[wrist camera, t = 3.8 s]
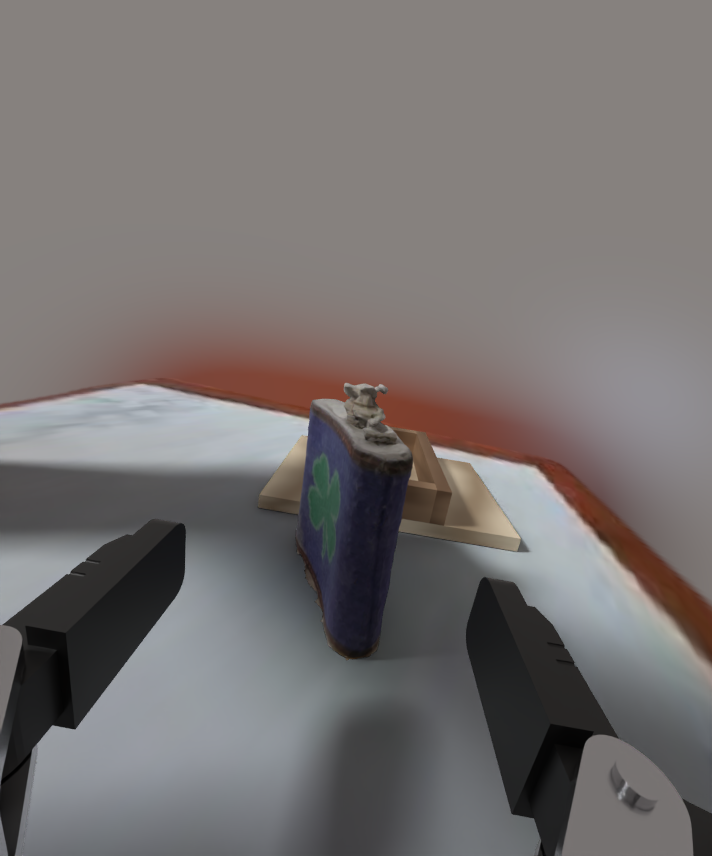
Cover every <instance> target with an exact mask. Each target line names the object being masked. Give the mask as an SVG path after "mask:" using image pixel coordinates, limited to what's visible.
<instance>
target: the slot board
mask: <svg viewBox="0 0 712 856" xmlns="http://www.w3.org/2000/svg"><path fill="white" fill-rule="evenodd" d="M390 428H391V429H392V430H393V431H394V432H395V433H396V434H397V436H398V437H399V438H400V439H401V441H402V442H403V443H404V444H405V445H406V446H407V447H408V448H409V449H410V451H411V452H412V455H413V468H412V471H411V476H410V478H409V481H408V486H407V490H406V496H405V502H404V506H403V513H402V520H401V524H400V527H399V532H405V533H411V534H417V535H422V536H428V537H434V538H440V539H446V540H452V541H458V542H464V543H470V544H475V545H481V546H487V547H493V548H499V549H505V550H511V551H517V550H518V547H519V544H520V541H521V538H520V537H519V535H518V534H517V532H516V531H515V529H514V528H513V526H512V525H511V523H510V522H509V520H508V519H507V517H506V516H505V514H504V513H503V511H502V510H501V508H500V507H499V505H498V504H497V503H496V501H495V500H494V498H493V497H492V495H491V494H490V492H489V491H488V489H487V488H486V486H485V485H484V483H483V482H482V480H481V479H480V477H479V476H478V474H477V473H476V472H475V470H474V469H473V467H472V466H471V464H470V463H466V462H460V461H454V460H448V459H442V458H437V457H436V455H435V453H434V451H433V448H432V446H431V444H430V442H429V440H428V437H427V435H426V433H425V432H419V431H413V430H407V429H401V428H394V427H390ZM307 438H308V436H303V435H302V436H301V437H300V439H299V440H298V441H297V443H296V444H295V445H294V447H293V448H292V450H291V451H290V452H289V454H288V455H287V457H286V458H285V459H284V461H283V462H282V464H281V465H280V466H279V468H278V469H277V470H276V472H275V473H274V475H273V476H272V477H271V479H270V480H269V482H268V483H267V484H266V486H265V487H264V489H263V490H262V491H261V493H260V494H259V502H258V508H263V509H269V510H275V511H281V512H287V513H293V514H299V508H300V499H301V492H302V484H303V475H304V468H305V459H306V447H307Z"/></svg>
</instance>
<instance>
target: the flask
mask: <svg viewBox="0 0 712 856" xmlns="http://www.w3.org/2000/svg"><path fill="white" fill-rule="evenodd" d="M378 391H381V392H382V393H383V394H386V393H387V391H388V388H386V387H385V386H384V385H382V384H380V385H379V386H378V387H375V388H374V387H373V386H370V385H367V384H360V385H356V386H353V385H351V384H349V383H345V384H344V392H345V393H346V394H347V395H348V396H349V397H350V399H348V400H347V401H346V402H345V403H344V402H341V401H339V400H335V399H319V400H313V401H312V403H311V408H310V421H309V427H308V438H307V447H306V459H305V468H304V475H303V484H302V492H301V499H300V508H299V514H298V525H297V529H296V534H295V536H296V537H295V538H296V546H297V553H298V555H300V554H301V556H302V558H303V561H304V564H305V570H304V571H305V574H306V577H305V578H306V579H307V580H308V584H309V585H310V586H311V587H313V589H314V590H315V591H317V593H318V595H317V596H318V598H317V600H316V601H315V603H317V604H318V606H319V607H320V608H321V609H322V612H323V616H322V620H321V622H323V626H324V632H325V635H326V638H327V643H328V646H329V647H330V648H331V647H332V649H333V650H334V651H335V652H339V653H338V654H339V655H341V656H343V657H345V658H346V660H347V661H348V660H349V659H358V658H364V657H369V656H370V655H371V654H373V653H374V652H376V651H377V648H378V644H379V638H380V633H381V624H382V616H383V610H384V606H385V601H386V597H387V593H388V589H389V583H390V574H391V568H392V563H393V556H394V552H395V548H396V543H397V537H398V531H399V527H400V524H401V520H402V513H403V506H404V502H405V496H406V490H407V486H408V481H409V478H410V476H411V471H412V468H413V455H412V452H411V451H410V449H409V448H408V447H407V446H406V445H405V444H404V443H403V442H402V441H401V439H400V438H399V437H398V436H397V434H396V433H395V432H394V431H393V430H392V429H391V428H390V427H388V426H386V425H384V424H382V423H381V422H380V421H382V420H384V419H385V415H384V412H383V409H381V408H379V407H378V405H377V404H376V402H375V398H376V397H377V392H378Z"/></svg>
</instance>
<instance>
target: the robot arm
mask: <svg viewBox="0 0 712 856" xmlns="http://www.w3.org/2000/svg"><path fill="white" fill-rule="evenodd" d="M185 542H186V529H185V526H184V524H182V523H176V522H170V521H164V520H159V519H152V520H151V521H149V522H148V523H147V524H145V525H144V526H143V527H142V528H141V529H140V530H138V531H137V532H136V533H135V534H134V535H125V536H122V537H120V538H118V539H116V540H114V541H111V542H109V543H107V544H105V545H103V546H102V547H101V548H100V549H98V550H97V551H96V552H94V553H93V554H92V555H91V556H89V557H88V558H87V559H86V561H85V562H82V563H80V564H79V565H78V566H77V567H75V568H74V569H73V570H72V571H71V573H70V574H66V575H65V576H64V577H63V578H61V579H60V580H59V581H58V582H56V583H55V584H54V585H53V586H51V587H50V588H49V589H47V590H46V591H45V592H44V593H42V594H41V595H40V596H39V597H37V598H36V599H35V600H33V601H32V602H31V603H30V604H28V605H27V606H26V607H25V608H23V609H22V610H21V611H19V612H18V613H17V614H16V615H14V616H13V617H12V618H11V619H9V620H8V621H7V622H6V623H4V624H3V625H0V856H22V854H23V847H24V840H25V833H26V827H27V820H28V813H29V807H30V800H31V793H32V786H33V780H34V773H35V766H36V760H37V750H38V747H37V743H38V742H39V741H40V740H41V738H42V737H43V736H44V735H45V733H46V732H47V731H48V730H49V729H50V727H51V726H52V725H54V726H59V727H65V728H70V729H76V728H77V726H78V725H79V724H80V722H81V721H82V720H83V718H84V717H85V716H86V714H87V713H88V712H89V710H90V709H91V708H92V707H93V705H94V704H95V703H96V701H97V700H98V699H99V697H100V696H101V695H102V693H103V692H104V691H105V689H106V688H107V687H108V685H109V684H110V683H111V682H112V680H113V679H114V678H115V676H116V675H117V674H118V672H119V671H120V670H121V668H122V667H123V666H124V664H125V663H126V662H127V660H128V659H129V658H130V656H131V655H132V654H133V653H134V651H135V650H136V649H137V647H138V646H139V645H140V643H141V642H142V641H143V639H144V638H145V637H146V635H147V634H148V633H149V631H150V630H151V629H152V628H153V626H154V625H155V624H156V622H157V621H158V620H159V618H160V617H161V616H162V614H163V613H164V612H165V610H166V609H167V608H168V606H169V605H170V604H171V602H172V601H173V600H174V599H175V597H176V596H177V594H178V592H179V590H180V588H181V585H182V583H183V579H184V574H185ZM466 644H467V650H468V654H469V658H470V662H471V665H472V669H473V673H474V676H475V680H476V684H477V687H478V691H479V695H480V699H481V702H482V706H483V710H484V713H485V717H486V721H487V724H488V728H489V732H490V736H491V739H492V743H493V747H494V750H495V754H496V758H497V761H498V765H499V769H500V772H501V776H502V780H503V784H504V787H505V791H506V795H507V798H508V802H509V806H510V809H511V813H512V814H513V815H519V816H524V817H529V818H534V819H535V822H536V826H537V829H538V832H539V835H540V839H539V841H538V844H537V846H536V849H535V853H534V856H712V814H711V813H709V812H707V811H705V810H703V809H701V808H699V807H697V806H695V805H693V804H691V803H689V802H687V801H685V800H684V799H682V798H681V796H680V795H679V793H678V791H677V790H676V788H675V787H674V786H673V784H672V783H671V782H670V780H669V779H668V778H667V777H666V776H665V774H664V773H663V772H662V771H661V770H660V769H659V768H658V767H657V766H656V765H655V764H654V763H653V762H652V761H651V760H650V759H649V758H647V757H646V756H645V755H644V754H642V753H641V752H640V751H638V750H637V749H636V748H634V747H633V746H631V745H629V744H628V743H626V742H624V741H622V740H620V739H619V738H618V737H617V735H616V733H615V731H614V730H613V728H612V726H611V725H610V723H609V721H608V719H607V718H606V716H605V714H604V712H603V711H602V709H601V707H600V706H599V704H598V702H597V700H596V699H595V697H594V695H593V694H592V692H591V690H590V688H589V687H588V685H587V683H586V681H585V680H584V678H583V676H582V675H581V673H580V671H579V669H578V668H577V667H575V665H574V661H573V659H572V657H571V656H570V654H569V652H568V650H567V649H565V648H564V644H563V642H562V640H561V638H560V637H559V635H558V633H557V632H556V630H555V628H554V626H553V625H552V624H551V623H550V622H549V621H548V620H547V619H546V618H545V617H544V616H543V615H542V614H541V613H540V612H539V611H538V610H537V609H536V608H535V607H531V606H527V604H526V602H525V600H524V598H523V596H522V595H521V593H520V591H519V589H518V587H517V585H516V584H515V583H513V582H509V581H503V580H497V579H491V578H486V577H484V578H482V580H481V581H480V584H479V587H478V590H477V593H476V597H475V600H474V603H473V607H472V610H471V613H470V617H469V620H468V624H467V630H466Z"/></svg>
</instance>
